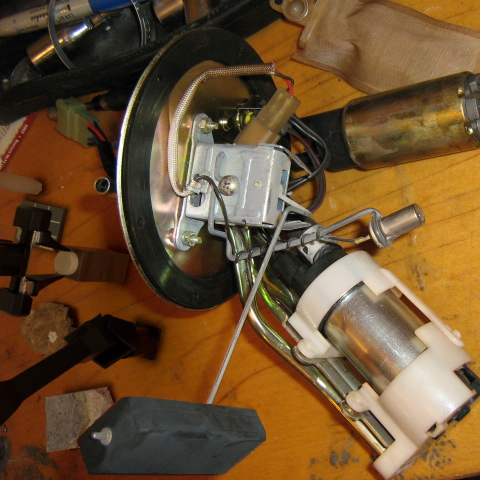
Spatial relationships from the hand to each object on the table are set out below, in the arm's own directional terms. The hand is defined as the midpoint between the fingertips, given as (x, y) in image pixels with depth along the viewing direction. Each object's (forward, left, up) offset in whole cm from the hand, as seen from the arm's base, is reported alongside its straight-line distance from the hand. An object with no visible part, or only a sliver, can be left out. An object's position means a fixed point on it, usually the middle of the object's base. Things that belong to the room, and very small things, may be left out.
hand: (66, 262), depth 87 cm
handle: (+29, -13, -12) cm, 34 cm away
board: (+25, -5, -12) cm, 28 cm away
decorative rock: (+14, +17, -12) cm, 25 cm away
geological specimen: (-2, +31, -12) cm, 34 cm away
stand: (0, 0, -12) cm, 12 cm away
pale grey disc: (0, 0, -1) cm, 1 cm away
